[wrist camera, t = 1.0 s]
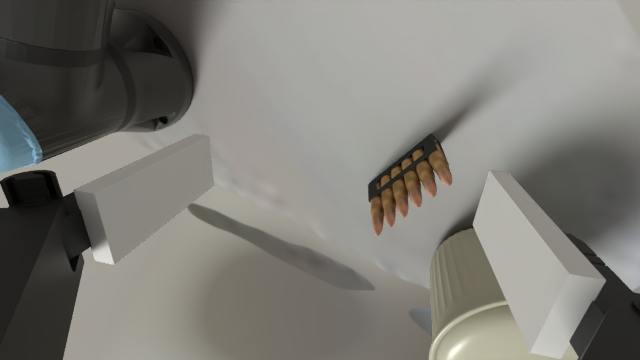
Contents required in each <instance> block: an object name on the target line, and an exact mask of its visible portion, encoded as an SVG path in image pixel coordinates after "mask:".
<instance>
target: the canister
mask: <svg viewBox="0 0 640 360" xmlns="http://www.w3.org/2000/svg"><path fill="white" fill-rule="evenodd" d="M430 293H431V294H430V296H431V314H432V332H433V342H432V344H431V347H430V351H429V360H577V359H578V358H579V357H578V356H577V354H576V352H575V351H574V349H573V347H572V346H571V344H569V346H568V348H567V349H566V351H565V353H564V355H563V356H562V358H561V359H557V358H553V357H548V356H543V355H538V354H534V353H530V352H529V350H528V347H527V345H526V343H525V341H524V339H523V336H522V334H521V332H520V330H519V327H518V325H517V323H516V321H515V318H514V316H513V314H512V312H511V310H510V307H509V305H508V303H507V301H506V298H505V296H504V294H503V292H502V289H501V287H500V285H499V283H498V280H497V278H496V276H495V274H494V272H493V269H492V267H491V265H490V263H489V260H488V258H487V256H486V254H485V251H484V249H483V247H482V245H481V243H480V240H479V238H478V236H477V234H476V231H475V229H474V228H469V229H467V230H462V231H461V232H458V233H455V234H454V235H453V236H450V237H449V238H448V239H447V240H445V241H443V243H442V244H441V245H440V246H439V247H438V249H437V250H436V251H435V254H434V256H433V258H432V263H431V266H430Z"/></svg>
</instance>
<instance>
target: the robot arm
mask: <svg viewBox="0 0 640 360" xmlns="http://www.w3.org/2000/svg"><path fill="white" fill-rule="evenodd" d="M114 5H115V0H0V174H2V173H5V172H8V171H11V170H14V169H17V168H21V167H24V166H34V165H36V164H38V163H40V162H42V161H44V160H47V159H49V158H51V157H54V156H56V155H59V154H62V153H64V152H66V151H69V150H72V149H74V148H77V147H79V146H82V145H84V144H87V143H89V142H92V141H94V140H97V139H99V138H102V137H104V136H107V135H109V134H111V133H114V132H153V131H158V130H161V129H163V128H166V127H168V126H170V125H172V124H174V123H176V122H177V121H178V120H180V119H181V118H182V117H183V115H184V114H185V113H186V111H187V109H188V107H189V105H190V102H191V98H192V92H193V79H192V73H191V69H190V65H189V62H188V59H187V57H186V55H185V53H184V51H183V49H182V47H181V45H180V44H179V42H178V41H177V40H176V38H175V37H174V36H173V35H172V33H171V32H170V31H169V30H168V29H167V28H166V27H165V26H163V25H162V24H161V23H160V22H158V21H157V20H155V19H154V18H152V17H150V16H148V15H146V14H144V13H141V12H138V11H133V10H124V9H114ZM0 184H1V187H2V189H3V192H4V194H5V196H6V199H7V201H8V204H9V207H8V208H0V360H63V356H64V351H65V347H66V342H67V338H68V333H69V328H70V324H71V320H72V315H73V310H74V306H75V301H76V297H77V292H78V288H79V283H80V279H81V274H82V270H83V265H84V259H83V256H82V252H83V251H85V250H86V249H88V248H89V247H91V248H92V252H93V255H94V258H95V261H99V262H103V263H108V264H113V265H114V264H116V263H117V262H118V261H120V260H121V259H122V258H123V257H124V256H126V255H127V254H128V253H130V252H131V251H132V250H133V249H135V248H136V247H137V246H138V245H140V244H141V243H142V242H143V241H145V240H146V239H147V238H148V237H149V236H151V235H152V234H153V233H155V232H156V231H157V230H158V229H160V228H161V227H162V226H163V225H165V224H166V223H167V222H168V221H170V220H171V219H172V218H173V217H175V216H176V215H177V214H179V213H180V212H181V211H182V210H183V209H185V208H186V207H187V206H189V205H190V204H191V203H192V202H194V201H195V200H196V199H197V198H199V197H200V196H201V195H202V194H204V193H205V192H206V191H207V190H209V189H210V188H211V187H212V186H214V182H213V171H212V161H211V151H210V140H209V136H208V135H200V134H194V135H192V136H189V137H187V138H185V139H183V140H181V141H179V142H176V143H174V144H172V145H170V146H168V147H166V148H163V149H161V150H159V151H157V152H155V153H153V154H151V155H148V156H146V157H144V158H142V159H140V160H138V161H135V162H133V163H131V164H129V165H127V166H125V167H122V168H120V169H118V170H116V171H114V172H111V173H109V174H107V175H105V176H103V177H101V178H98V179H96V180H94V181H92V182H90V183H87V184H85V185H83V186H81V187H79V188H77V189H74V190H73V191H74V192H72V193H70V194H68V195H66V196H64V197H63V195H62V192H61V189H60V186H59V183H58V180H57V177H56V174H55V172H53V171H48V170H35V171H28V172H22V173H18V174H14V175H12V176H9V177H6V178H4V179H3V180H2V181H0ZM473 227H474V229H475V231H476V234H477V236H478V238H479V240H480V243H481V245H482V247H483V249H484V251H485V254H486V256H487V258H488V260H489V263H490V265H491V267H492V269H493V272H494V274H495V276H496V278H497V280H498V283H499V285H500V287H501V289H502V292H503V294H504V296H505V298H506V301H507V303H508V305H509V307H510V310H511V312H512V314H513V316H514V318H515V321H516V323H517V325H518V327H519V330H520V332H521V334H522V336H523V339H524V341H525V343H526V345H527V347H528V350H529V352H530V353H534V354H538V355H543V356H548V357H553V358H557V359H561V358H562V356H563V355H564V353H565V351H566V349H567V348H568V346H569V344H571V346H572V347H573V349H574V351H575V352H576V354H577V356H578V357H579V358H578V359H577V360H640V294H638V293H634V292H632V291H631V290H630V289H629V288H628V287H627V286H626V285H625V284H624V283H623V282H622V280H621V279H620V278H619V277H618V276H617V275H616V274H615V273H614V272H613V271H612V270H611V269H610V268H609V267H608V266H605V263H604V262H603V261H602V260H601V259H600V258H599V257H597V255H596V254H595V253H594V252H593V251H592V250H591V249H590V248H589V247H588V245H587V244H585V243H584V242H582V241H580V240H579V239H577V238H576V237H574V236H573V235H571V234H567V233H563V232H562V231H561V230H560V229H559V228H558V226H557V225H556V224H555V223H554V222H553V221H552V220H551V219H550V218H549V217H548V215H547V214H546V213H545V212H544V211H543V210H542V209H541V208H540V207H539V205H538V204H537V203H536V202H535V201H534V200H533V199H532V198H531V197H530V196H529V194H528V193H527V192H526V191H525V190H524V189H523V188H522V187H521V186H520V185H519V183H518V182H517V181H516V180H515V179H514V178H513V177H512V176H511V175H510V174H509V173H507V172H499V171H491V170H489V173H488V177H487V180H486V183H485V186H484V189H483V193H482V196H481V199H480V202H479V205H478V209H477V212H476V215H475V218H474V222H473Z"/></svg>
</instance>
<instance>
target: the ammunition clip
mask: <svg viewBox="0 0 640 360" xmlns="http://www.w3.org/2000/svg"><path fill="white" fill-rule="evenodd" d="M429 161H430V162H429ZM430 163H431V165H430ZM433 170H434V171H435V172H436V173H437V175H438V176H439V178H440V180H441V181H442V182H443V183H444V184H446V185H448V186H450V185H451V184H452V175H451V172H450V169H449V164H448V162H447V159H446V157H445V154H444V152H443V149H442V147H441V144H440V143H439V142H438V141H437V139H436V138H435V137H434V136H433V135H432V134H430V135H429V136H427V137H426V138H425V139H424V140H423V141H421V142H420V143H419V144H418V145H416V146H415V147H414V148H413V149H411V150H410V151H409V152H408V153H406V154H405V155H404V156H403V157H401V158H400V159H399V160H398V161H396V162H395V163H394V164H393V165H392V166H390V167H389V168H388V169H387V170H385V171H384V172H383V173H382V174H380V175H379V176H378V177H377V178H375V179H374V180H373V181H372V182H370V183H369V185H368V195H369V202H371V216H372V224H373V229H374V232H375V234H376V235H377V236H379V235H380V233H381V232H382V228H383V219H384V216H385V220H386V222H387V224H388V225H389V226H390V227H391V226H393V224H394V222H395V212H396V211H395V208H396V204H397V208H398V211H399V213H400V214H401V216H402V217H406V215H407V213H408V192H409V195H410V199H411V201H412V202H413V204H414V205H415V206H416V207H420V206H421V203H422V195H421V183H420V181H421V182H422V184H423V186H424V188H425V190H426V192H427V193H428V194H429V195H430V196H432V197H434V196H435V195H436V192H437V188H436V183H435V176H434V172H433Z"/></svg>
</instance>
